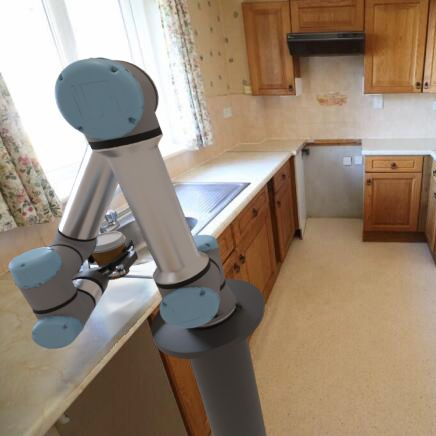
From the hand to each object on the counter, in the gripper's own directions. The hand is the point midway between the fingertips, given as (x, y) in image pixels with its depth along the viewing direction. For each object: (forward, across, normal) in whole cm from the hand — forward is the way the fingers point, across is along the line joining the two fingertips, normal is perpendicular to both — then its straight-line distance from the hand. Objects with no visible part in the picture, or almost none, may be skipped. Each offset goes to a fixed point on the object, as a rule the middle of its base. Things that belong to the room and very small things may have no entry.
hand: (115, 245), depth 97 cm
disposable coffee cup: (-5, 0, -7) cm, 9 cm away
